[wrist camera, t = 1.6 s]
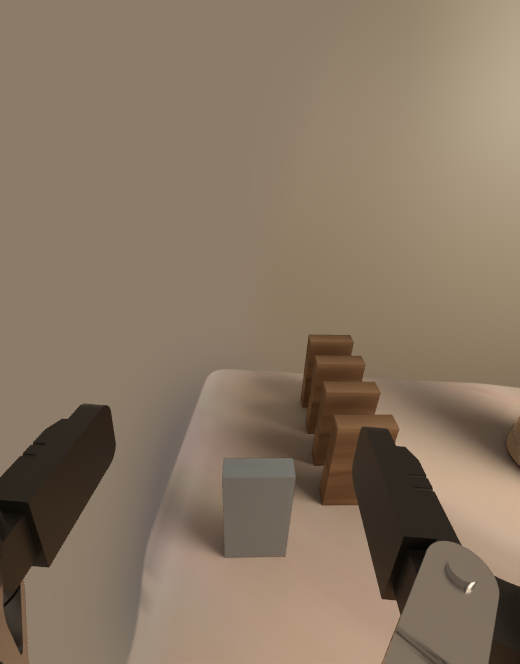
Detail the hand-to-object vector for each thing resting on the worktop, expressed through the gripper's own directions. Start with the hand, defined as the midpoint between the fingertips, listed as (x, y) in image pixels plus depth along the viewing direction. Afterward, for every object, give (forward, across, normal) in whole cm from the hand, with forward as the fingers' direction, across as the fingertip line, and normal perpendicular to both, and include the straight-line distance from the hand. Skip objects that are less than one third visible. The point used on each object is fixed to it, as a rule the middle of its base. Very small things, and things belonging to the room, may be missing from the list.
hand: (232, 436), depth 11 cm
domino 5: (+15, -10, +20) cm, 27 cm away
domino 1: (+10, -1, +21) cm, 23 cm away
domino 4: (+20, -9, +20) cm, 29 cm away
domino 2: (+29, -9, +19) cm, 35 cm away
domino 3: (+24, -9, +19) cm, 32 cm away
